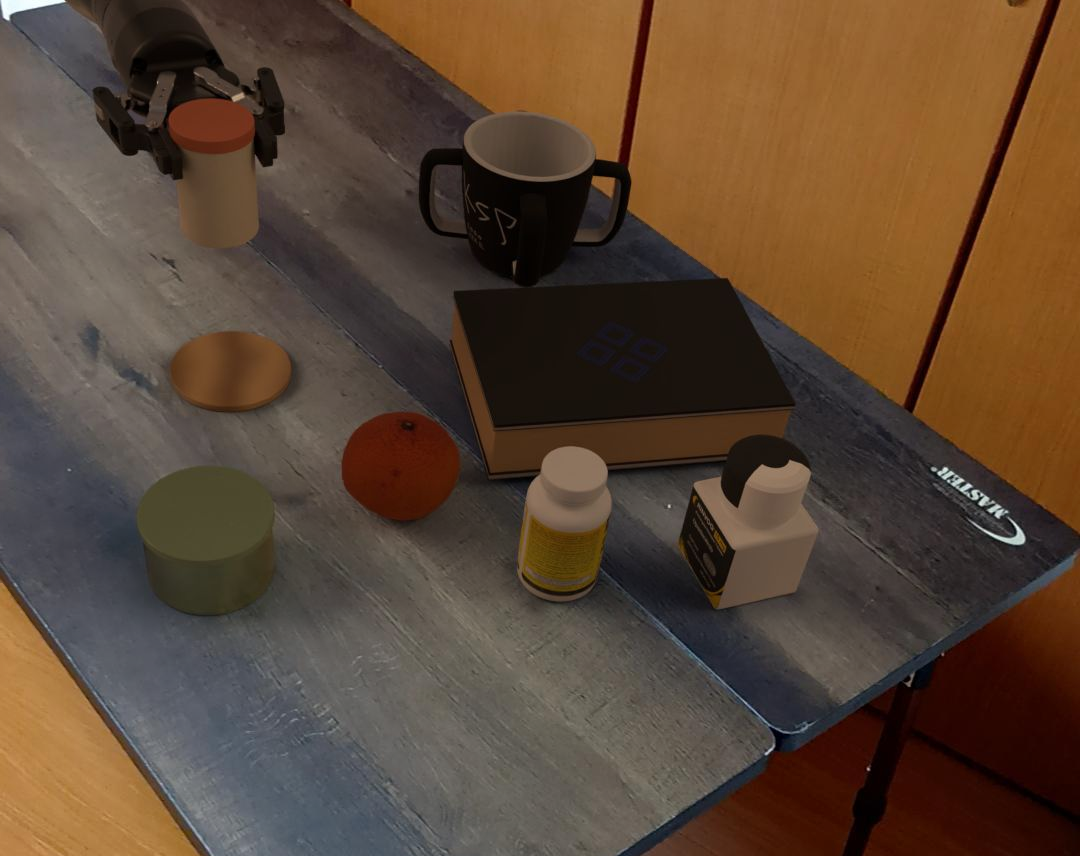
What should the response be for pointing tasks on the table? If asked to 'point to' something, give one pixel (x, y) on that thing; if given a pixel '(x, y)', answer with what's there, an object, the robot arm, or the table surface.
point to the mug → (524, 193)
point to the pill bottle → (565, 525)
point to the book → (613, 373)
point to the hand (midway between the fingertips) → (223, 161)
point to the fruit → (400, 465)
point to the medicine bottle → (750, 524)
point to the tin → (207, 539)
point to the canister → (216, 172)
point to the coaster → (230, 371)
